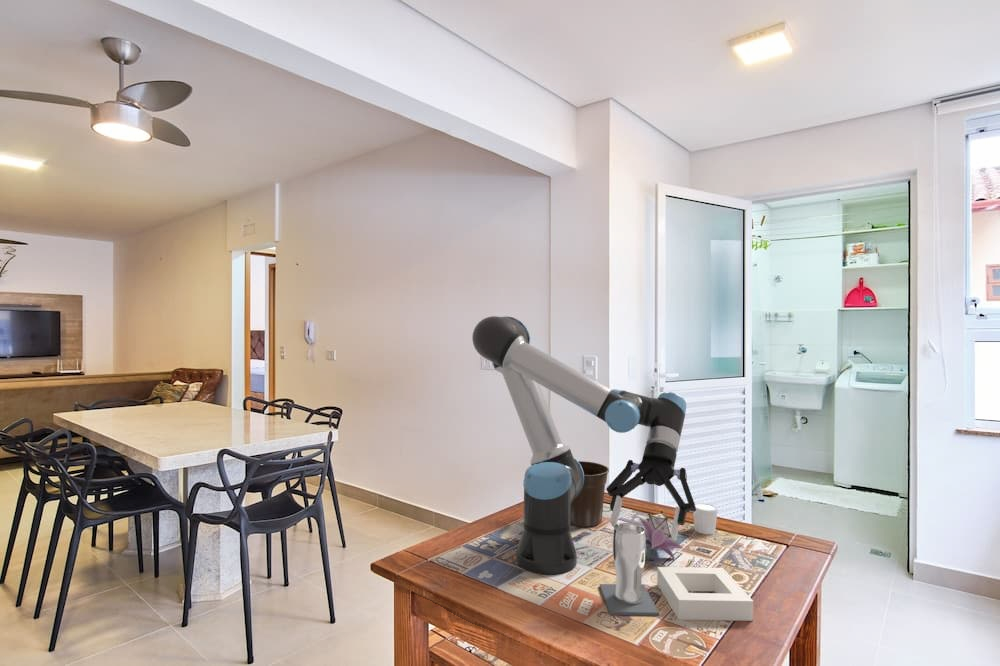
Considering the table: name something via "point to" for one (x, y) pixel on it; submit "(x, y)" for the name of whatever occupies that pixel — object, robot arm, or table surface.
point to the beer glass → (629, 561)
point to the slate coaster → (628, 609)
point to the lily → (659, 539)
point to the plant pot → (589, 496)
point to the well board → (704, 594)
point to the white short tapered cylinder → (705, 518)
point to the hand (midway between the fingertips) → (642, 530)
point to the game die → (660, 523)
